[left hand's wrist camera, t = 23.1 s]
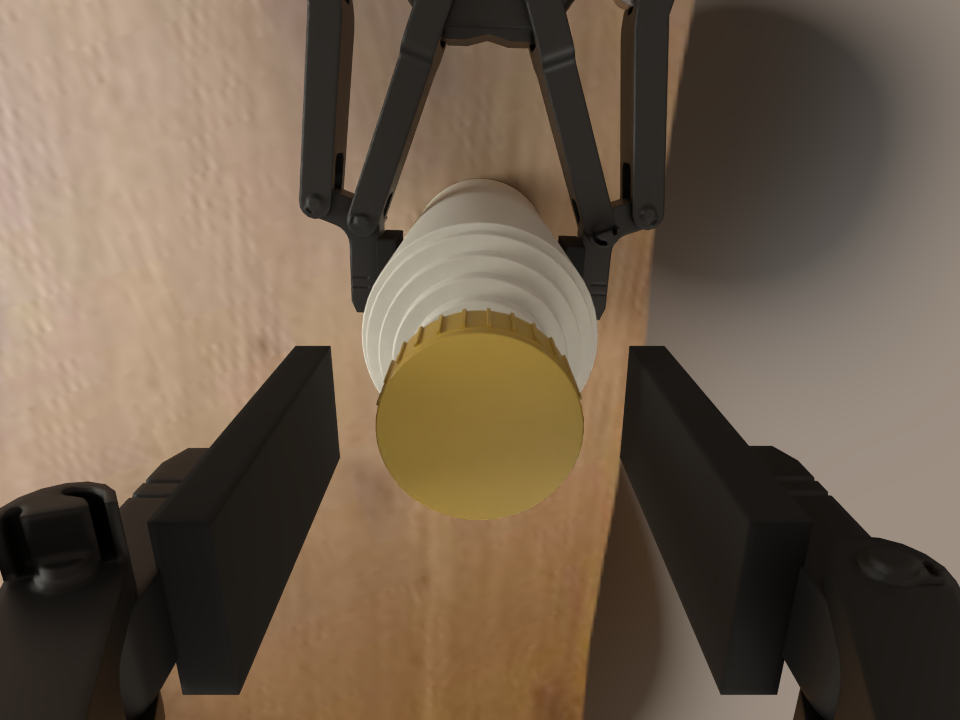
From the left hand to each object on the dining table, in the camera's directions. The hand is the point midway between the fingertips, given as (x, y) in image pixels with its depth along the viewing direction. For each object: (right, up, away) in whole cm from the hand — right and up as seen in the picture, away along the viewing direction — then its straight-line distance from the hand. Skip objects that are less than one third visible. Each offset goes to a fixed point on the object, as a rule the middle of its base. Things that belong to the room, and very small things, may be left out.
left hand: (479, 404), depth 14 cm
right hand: (0, 0, +14) cm, 14 cm away
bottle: (0, +7, +19) cm, 20 cm away
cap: (0, 0, -1) cm, 1 cm away
